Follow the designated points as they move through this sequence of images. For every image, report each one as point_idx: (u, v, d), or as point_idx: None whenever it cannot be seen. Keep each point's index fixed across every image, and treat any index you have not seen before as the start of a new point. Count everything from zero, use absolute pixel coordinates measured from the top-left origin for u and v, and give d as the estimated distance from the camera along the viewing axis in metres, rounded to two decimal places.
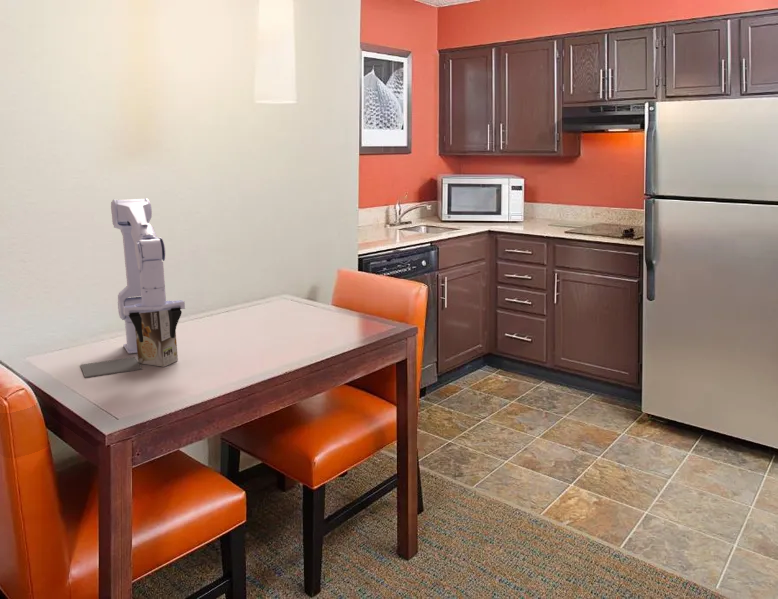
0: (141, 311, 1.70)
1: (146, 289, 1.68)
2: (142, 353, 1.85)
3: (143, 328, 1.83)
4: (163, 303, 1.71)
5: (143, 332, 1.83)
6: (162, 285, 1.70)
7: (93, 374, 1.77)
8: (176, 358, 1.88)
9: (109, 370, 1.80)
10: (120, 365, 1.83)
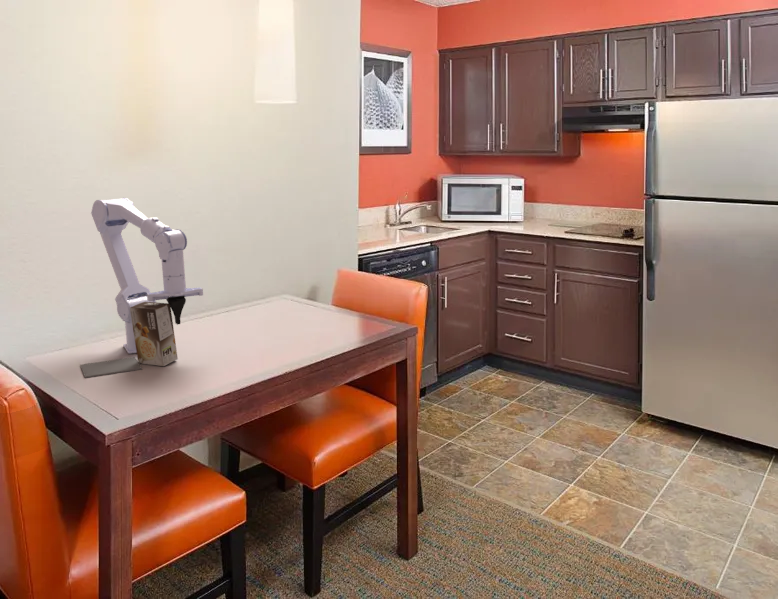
0: (163, 297, 1.85)
1: (168, 277, 1.83)
2: (141, 353, 1.85)
3: (141, 328, 1.83)
4: (183, 290, 1.85)
5: (141, 332, 1.83)
6: (184, 272, 1.86)
7: (93, 374, 1.77)
8: (176, 356, 1.88)
9: (109, 370, 1.80)
10: (120, 365, 1.83)
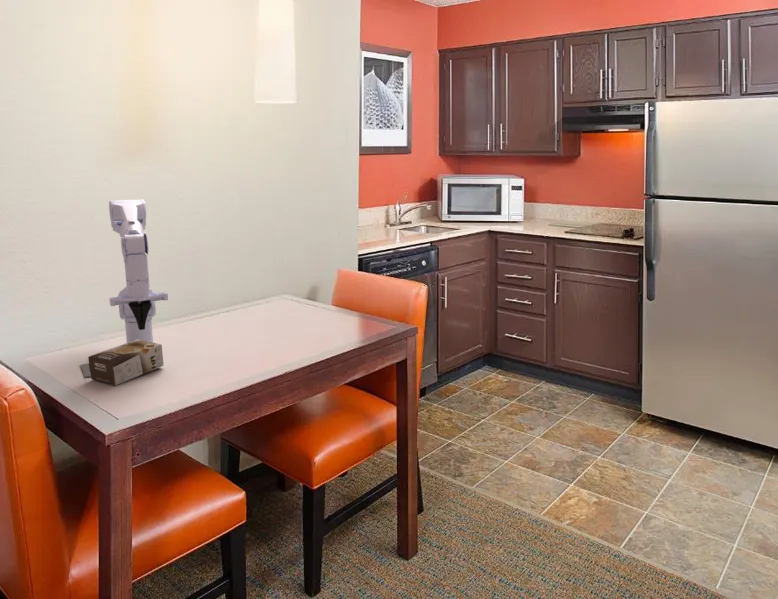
0: (126, 302, 1.80)
1: (131, 281, 1.78)
2: None
3: None
4: (147, 295, 1.81)
5: None
6: (145, 278, 1.80)
7: None
8: (159, 347, 1.81)
9: None
10: None
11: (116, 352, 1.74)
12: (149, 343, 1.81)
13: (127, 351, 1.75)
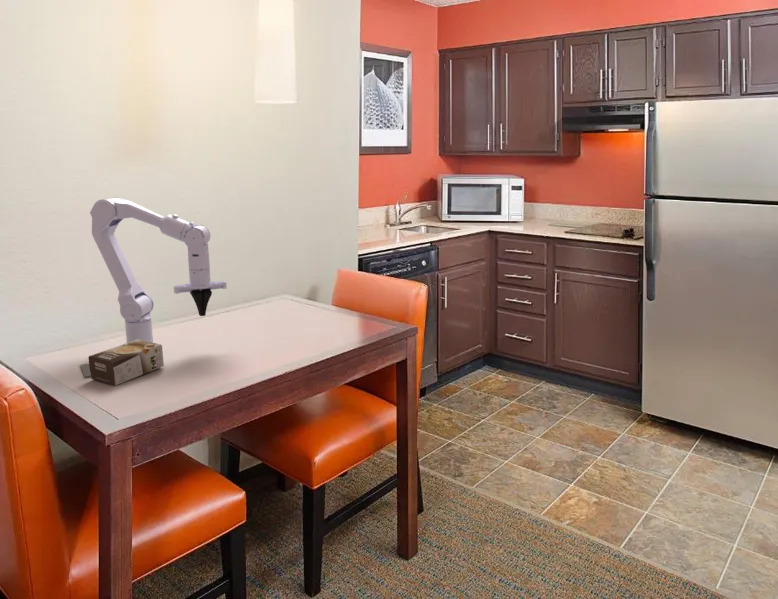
0: (189, 290, 1.93)
1: (194, 270, 1.91)
2: None
3: None
4: (208, 283, 1.93)
5: None
6: None
7: None
8: (159, 348, 1.81)
9: None
10: None
11: (116, 352, 1.74)
12: (149, 343, 1.81)
13: (128, 351, 1.75)
